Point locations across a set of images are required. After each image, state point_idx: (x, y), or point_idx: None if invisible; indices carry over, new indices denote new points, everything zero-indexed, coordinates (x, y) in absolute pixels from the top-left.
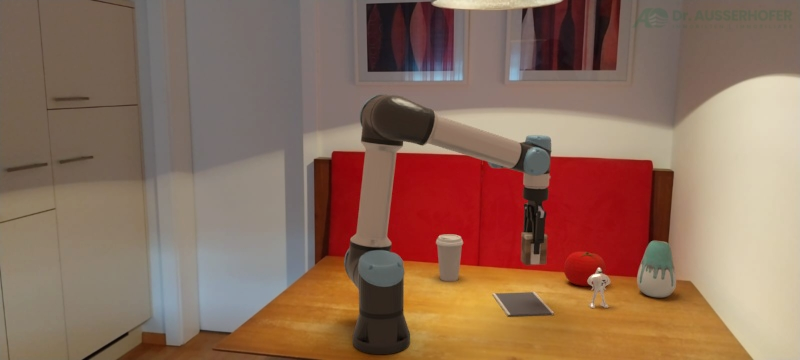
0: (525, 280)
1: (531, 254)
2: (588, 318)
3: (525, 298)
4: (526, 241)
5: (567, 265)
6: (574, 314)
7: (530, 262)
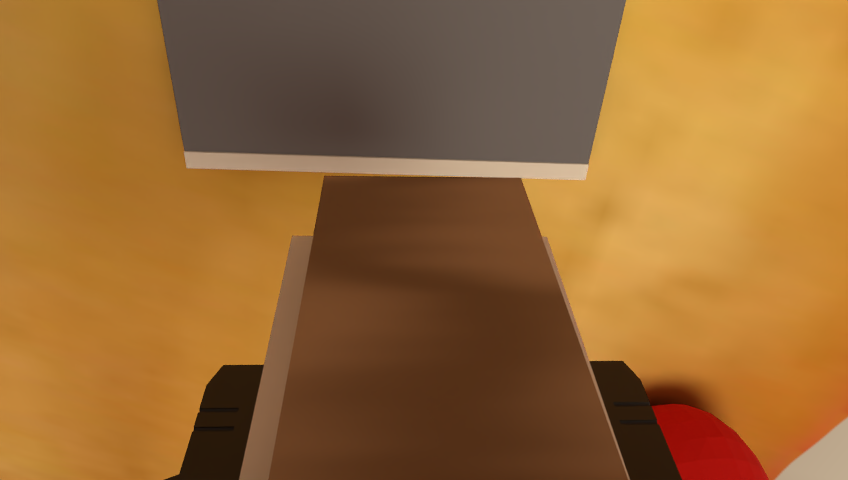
0: (844, 201)
1: (274, 331)
2: (152, 310)
3: (478, 74)
4: (277, 456)
5: (704, 476)
6: (208, 268)
7: (305, 248)
